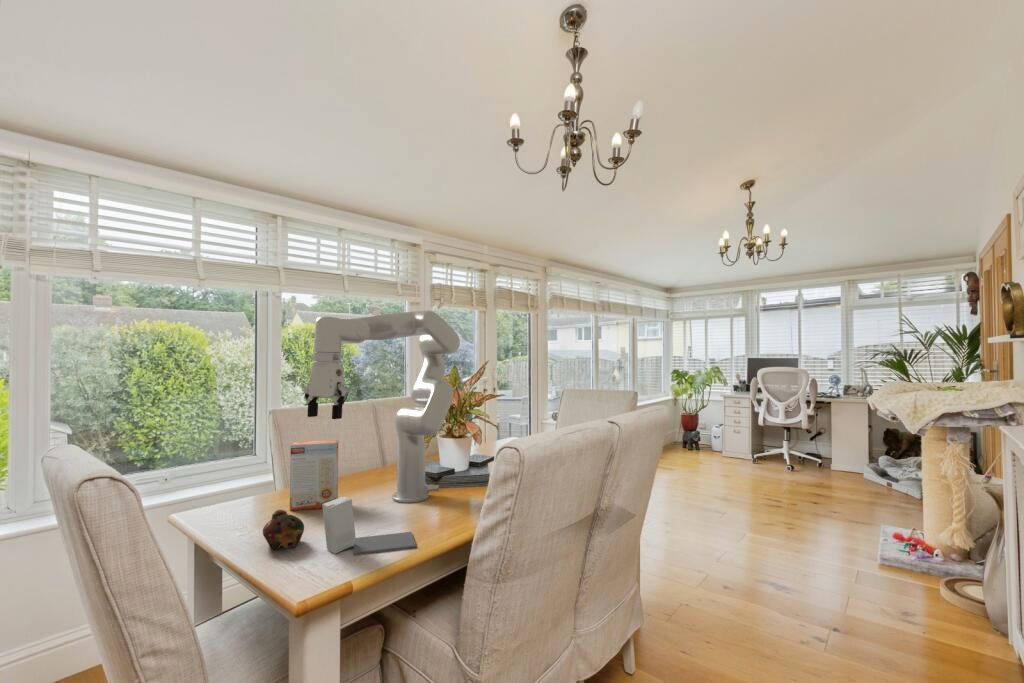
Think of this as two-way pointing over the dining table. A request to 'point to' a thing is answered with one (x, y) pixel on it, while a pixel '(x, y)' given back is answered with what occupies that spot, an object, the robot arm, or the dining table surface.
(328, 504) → the skincare box
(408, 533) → the slate mat
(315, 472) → the cracker box
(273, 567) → the dining table surface
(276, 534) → the decorative turtle
